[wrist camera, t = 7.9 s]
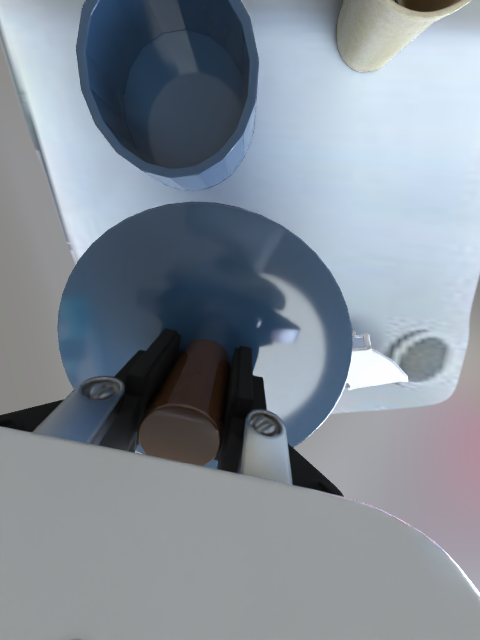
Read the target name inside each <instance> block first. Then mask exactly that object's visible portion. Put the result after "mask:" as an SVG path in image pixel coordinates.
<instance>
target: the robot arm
mask: <svg viewBox="0 0 480 640" xmlns="http://www.w3.org/2000/svg"><path fill="white" fill-rule="evenodd" d="M180 340H181V335H180V334H178V332H177V331H176V330H171V329H167V328H165V329H164V331H163V332H162V333H161V334H160V335H159V336H158V337H157V339H156V340H155V341H154V342H153V343H152V344H151V345H150V347H149V348H148V349H147V350H146V351H143V350H139V351H138V352H137V353H136V354H135V355H134V356H133V357H132V358H131V359H130V360H129V361H128V362H127V363H126V364H125V366H124V367H123V368H122V369H121V370H120V371H119V372H118V373H117V374H116V375H115V376H114V377H113V376H96V377H92V378H89V379H87V380H85V381H83V382H82V383H81V384H79V385H78V386H77V387H76V388H75V389H74V390H73V391H72V392H71V393H70V394H69V395H68V396H67V397H66V398H65V399H64V400H60V401H56V402H52V403H48V404H44V405H40V406H36V407H32V408H28V409H24V410H20V411H16V412H12V413H8V414H4V415H0V640H480V593H479V591H478V590H477V589H476V588H475V586H474V585H473V583H472V582H471V581H470V580H469V579H468V577H467V576H466V575H465V573H464V572H463V571H462V570H461V568H460V567H459V566H458V565H457V564H456V563H455V562H454V560H453V559H452V558H451V557H450V556H449V555H448V554H447V553H446V552H445V551H444V550H443V549H442V548H441V547H440V546H439V545H437V543H435V542H434V541H433V540H431V539H430V538H429V537H427V536H426V535H424V534H423V533H422V532H420V531H419V530H417V529H416V528H414V527H413V526H411V525H409V524H407V523H406V522H404V521H402V520H400V519H399V518H397V517H395V516H393V515H392V514H390V513H387V512H385V511H383V510H380V509H378V508H376V507H373V506H371V505H369V504H366V503H362V502H360V501H357V500H354V499H350V498H346V497H344V496H343V495H342V493H341V492H340V491H339V490H338V489H337V487H336V486H335V485H334V484H332V483H331V482H330V481H329V480H328V479H327V478H326V477H325V476H324V475H322V474H321V473H320V472H319V471H318V470H317V469H316V468H315V467H313V466H312V465H311V464H310V463H309V462H308V461H307V460H306V459H305V458H304V457H303V456H301V455H300V454H299V453H298V452H297V451H296V450H295V449H294V448H293V447H291V446H290V445H289V444H288V443H287V435H286V428H285V425H284V423H283V421H282V420H281V419H280V418H279V417H278V416H277V415H276V414H274V413H272V412H270V411H268V410H267V406H266V398H265V389H264V381H263V377H259V376H254V375H253V368H252V348H249V347H245V346H240V348H235V351H234V355H233V359H232V363H231V366H230V374H229V382H228V390H227V399H226V407H225V415H224V423H223V435H222V443H221V447H220V450H219V452H218V454H217V455H216V457H215V458H214V459H213V460H216V461H218V467H217V469H213V468H208V467H204V466H199V465H194V464H189V463H184V462H179V461H174V460H169V459H164V458H159V457H154V456H149V455H144V454H139V453H134V452H135V450H136V449H137V447H138V445H140V444H139V441H138V427H139V424H140V421H141V419H142V418H143V416H144V414H145V412H146V411H147V409H148V407H149V405H150V404H151V402H152V400H153V398H154V397H155V395H156V393H157V391H158V390H159V388H160V386H161V384H162V383H163V381H164V379H165V377H166V376H167V374H168V372H169V370H170V369H171V367H172V365H173V363H174V362H175V360H176V358H177V356H178V351H179V345H180Z"/></svg>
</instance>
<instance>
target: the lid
mask: <svg viewBox="0 0 480 640" xmlns="http://www.w3.org/2000/svg"><path fill="white" fill-rule="evenodd" d="M165 328H167V329H171V330H176V331H177V332H178V334H180V335H181V340H180V345H179V351H178V356H177V358H176V360H175V362H174V363H173V365H172V367H171V369H170V370H169V372H168V374H167V376H166V377H165V379H164V381H163V383H162V384H161V386H160V388H159V390H158V391H157V393H156V395H155V397H154V398H153V400H152V402H151V404H150V405H149V407H148V409H147V411H146V412H145V414H144V416H143V418H142V419H141V421H140V424H139V427H138V441H139V444H140V445H138V447H137V449H136V451H138V452H141V453H143V454H145V455H149V456H154V457H159V458H164V459H169V460H174V461H179V462H184V463H189V464H194V465H199V466H204V467H208V468H213V469H217V467H218V461H216V460H213V459H214V458H215V457H216V455H217V454H218V452H219V450H220V447H221V443H222V435H223V423H224V415H225V407H226V399H227V390H228V382H229V374H230V366H231V363H232V359H233V355H234V351H235V348H240V346H245V347H249V348H252V368H253V375H254V376H259V377H263V381H264V389H265V398H266V406H267V410H268V411H270V412H272V413H274V414H276V415H277V416H278V417H279V418H280V419H281V420H282V421H283V423H284V425H285V428H286V435H287V443H288V444H289V445H290V446H291V447H295V446H297V445H298V444H299V443H301V442H302V441H304V440H305V439H306V438H307V437H308V436H310V435H311V434H312V433H313V432H314V431H315V430H316V429H317V428H318V427H319V426H320V425H321V424H322V423H323V422H324V421H325V419H326V418H327V417H328V415H329V414H330V413H331V411H332V410H333V409H334V407H335V405H336V403H337V402H338V400H339V398H340V396H341V394H342V392H343V389H344V387H345V384H346V381H347V379H348V375H349V370H350V365H351V361H352V346H353V340H352V328H351V321H350V317H349V313H348V308H347V305H346V302H345V300H344V297H343V295H342V292H341V290H340V288H339V286H338V284H337V282H336V281H335V279H334V277H333V275H332V274H331V272H330V270H329V269H328V268H327V266H326V265H325V264H324V263H323V261H322V260H321V259H320V258H319V256H318V255H317V254H316V253H315V252H314V251H313V250H312V249H311V248H310V247H309V246H308V245H307V244H306V243H305V242H304V241H302V240H301V239H300V238H299V237H298V236H296V235H295V234H293V233H292V232H290V231H289V230H288V229H286V228H285V227H283V226H282V225H280V224H278V223H276V222H274V221H272V220H270V219H268V218H266V217H264V216H262V215H260V214H257V213H254V212H251V211H248V210H245V209H243V208H240V207H235V206H230V205H224V204H219V203H209V202H185V203H175V204H167V205H163V206H160V207H156V208H152V209H148V210H145V211H143V212H140V213H138V214H136V215H133V216H131V217H129V218H126V219H125V220H123V221H121V222H120V223H118V224H117V225H115V226H113V227H112V228H110V229H109V230H107V231H106V232H105V233H104V234H103V235H102V236H100V237H99V238H98V239H97V240H96V241H95V242H94V243H92V245H91V246H90V247H89V248H88V249H87V251H86V252H85V253H84V254H83V255H82V257H81V258H80V259H79V261H78V262H77V264H76V266H75V267H74V269H73V271H72V273H71V275H70V276H69V279H68V281H67V284H66V286H65V289H64V291H63V294H62V299H61V303H60V308H59V315H58V341H59V349H60V354H61V358H62V363H63V366H64V368H65V371H66V374H67V376H68V379H69V381H70V383H71V385H72V387H73V389H75V388H76V387H77V386H78V385H79V384H81V383H82V382H83V381H85V380H87V379H89V378H92V377H96V376H113V377H114V376H115V375H116V374H117V373H118V372H119V371H120V370H121V369H122V368H123V367H124V366H125V364H126V363H127V362H128V361H129V360H130V359H131V358H132V357H133V356H134V355H135V354H136V353H137V352H138V351H139V350H143V351H146V350H147V349H148V348H149V347H150V345H151V344H152V343H153V342H154V341H155V340H156V339H157V337H158V336H159V335H160V334H161V333H162V332H163V331H164V329H165Z"/></svg>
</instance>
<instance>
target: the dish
mask: <svg viewBox="0 0 480 640" xmlns="http://www.w3.org/2000/svg"><path fill="white" fill-rule="evenodd" d="M76 48H77V49H76V53H77V61H78V69H79V77H80V85H81V90H82V93H83V95H84V98H85V100H86V103H87V105H88V108H89V110H90V113H91V115H92V118H93V120H94V123H95V125H96V126H97V128H98V129H99V130H100V131H101V133H102V134H103V135H104V137H105V138H106V139H107V141H108V142H109V143H110V144H111V146H112V147H113V148H114V150H115V151H116V152H117V153H118V154H119V155H121V156H122V157H123V158H125V159H126V160H128V161H129V162H131V163H132V164H133V165H135V166H136V167H138V168H139V169H141V170H142V171H144V172H145V173H147V174H148V175H150V176H152V177H153V178H155V179H156V180H158V181H160V182H161V183H163V184H164V185H167V186H171V187H174V188H177V189H181V190H186V191H195V190H203V189H207V188H210V187H212V186H215V185H217V184H219V183H220V182H222V181H224V180H225V179H226V178H227V177H229V176H230V175H231V174H232V173H233V172H234V171H235V170H236V168H237V167H238V166H239V164H240V163H241V162H242V160H243V158H244V157H245V154H246V152H247V150H248V147H249V145H250V142H251V138H252V136H253V133H254V125H255V111H256V98H257V83H258V69H259V58H258V53H257V48H256V43H255V39H254V34H253V29H252V24H251V20H250V17H249V15H248V13H247V11H246V9H245V8H244V6H243V4H242V2H241V0H86V1H85V3H84V5H83V8H82V12H81V19H80V25H79V32H78V38H77V45H76Z"/></svg>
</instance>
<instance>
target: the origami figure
mask: <svg viewBox="0 0 480 640" xmlns="http://www.w3.org/2000/svg"><path fill="white" fill-rule="evenodd" d="M352 335H353V337H354V338H361V337H364V341H365V347H359V348H352V361H351V365H350V370H349V375H348V379H347V381H348V383H346V384H345V387H344V388H346V387H348V390H347V391H349V390H352V389H355V388H361V387H368V386H374V385H381V384H387V383H394V382H400V381H404V382H408V375H406V374H405V373H404V372H403V370H402V369H401V368H400V367H399V366H398V365H397V364H396V363H395V362H394V361H393V360H392V359H390V358H389V357H387V356H385V355H383V354H382V353H380V352H378V351H376V350H374V349H372V348H371V342H370V336H369V334H361V335H356V333H355V331H352Z"/></svg>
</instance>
